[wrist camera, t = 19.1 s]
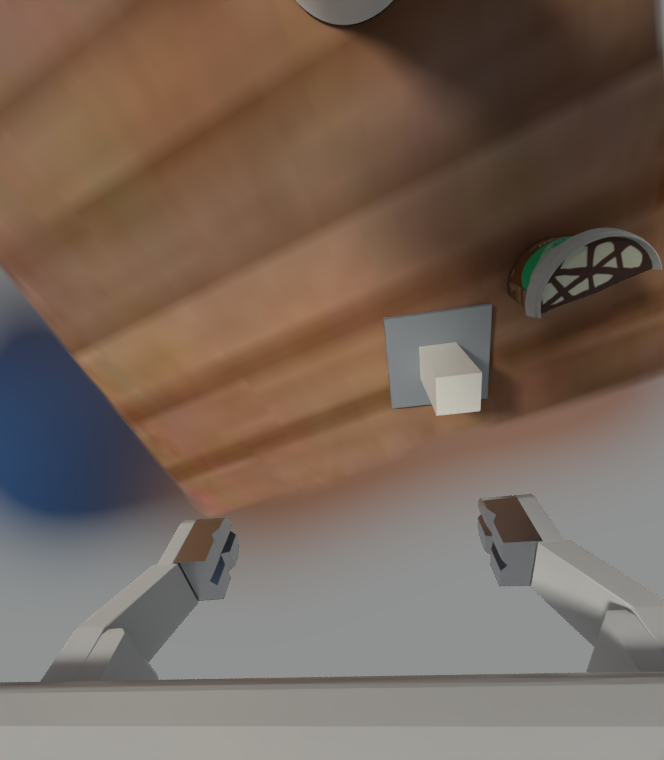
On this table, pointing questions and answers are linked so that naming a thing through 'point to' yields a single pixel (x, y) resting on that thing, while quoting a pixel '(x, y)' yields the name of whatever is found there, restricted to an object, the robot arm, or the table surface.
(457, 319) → the post stand
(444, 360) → the tall white pillar
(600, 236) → the food container
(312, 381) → the table surface
